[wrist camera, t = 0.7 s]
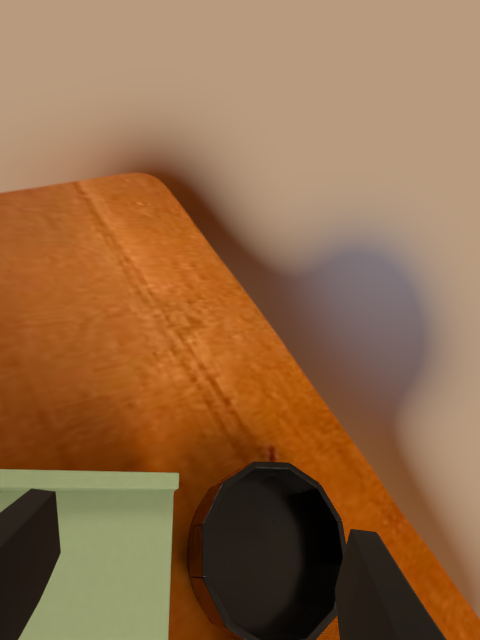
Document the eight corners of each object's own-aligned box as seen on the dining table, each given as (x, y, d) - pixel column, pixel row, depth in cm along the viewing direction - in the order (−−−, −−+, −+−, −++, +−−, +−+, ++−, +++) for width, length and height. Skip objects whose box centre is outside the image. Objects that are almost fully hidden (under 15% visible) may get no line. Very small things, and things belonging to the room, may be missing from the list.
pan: (188, 469, 26) (205, 458, 23) (309, 472, 30) (337, 462, 27) (180, 851, 18) (205, 908, 15) (352, 794, 21) (400, 831, 18)
